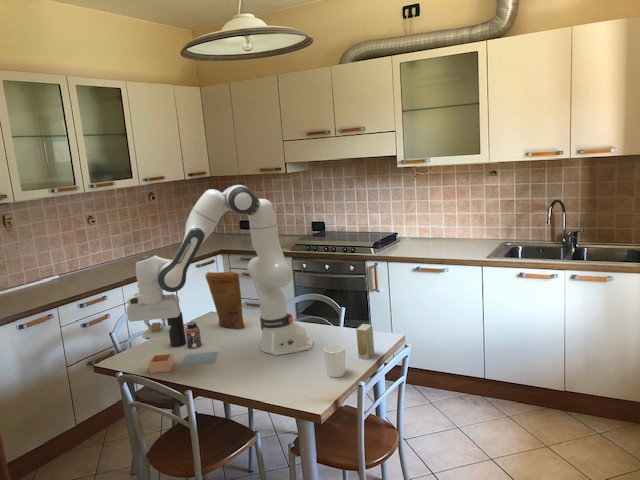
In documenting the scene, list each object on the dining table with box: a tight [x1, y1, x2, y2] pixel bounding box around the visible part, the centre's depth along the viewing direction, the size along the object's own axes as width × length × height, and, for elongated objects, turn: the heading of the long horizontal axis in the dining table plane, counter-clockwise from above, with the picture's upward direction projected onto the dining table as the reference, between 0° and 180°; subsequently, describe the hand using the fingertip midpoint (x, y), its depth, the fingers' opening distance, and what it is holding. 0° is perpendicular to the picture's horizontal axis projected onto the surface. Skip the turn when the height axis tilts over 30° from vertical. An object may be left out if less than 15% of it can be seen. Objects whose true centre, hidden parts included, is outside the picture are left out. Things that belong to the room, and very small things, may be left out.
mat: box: [179, 350, 220, 368], centre depth 218 cm, size 14×12×1 cm
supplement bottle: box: [185, 321, 202, 349], centre depth 231 cm, size 6×6×11 cm
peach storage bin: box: [147, 352, 176, 375], centre depth 211 cm, size 8×8×5 cm
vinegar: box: [166, 311, 187, 348], centre depth 234 cm, size 7×7×20 cm
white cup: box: [323, 343, 346, 378], centre depth 194 cm, size 8×8×10 cm
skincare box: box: [355, 323, 375, 360], centre depth 207 cm, size 6×4×12 cm
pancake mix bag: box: [204, 271, 246, 330], centre depth 252 cm, size 7×19×28 cm, turn 59°
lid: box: [141, 321, 171, 339], centre depth 208 cm, size 9×9×4 cm
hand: (156, 329), depth 208 cm, fingers closed on lid, 3 cm apart
